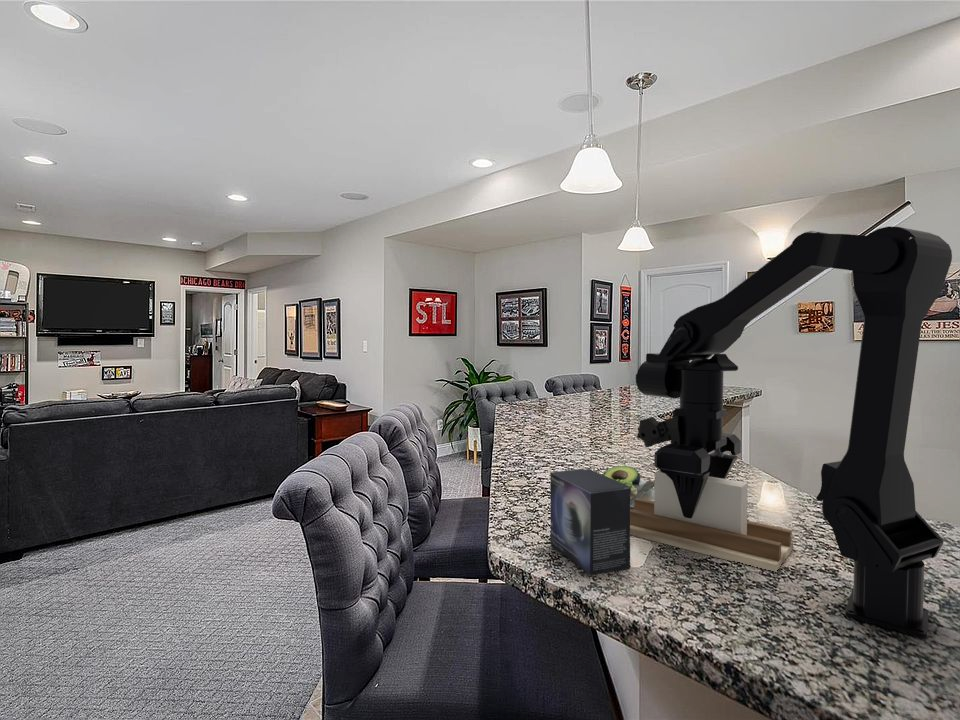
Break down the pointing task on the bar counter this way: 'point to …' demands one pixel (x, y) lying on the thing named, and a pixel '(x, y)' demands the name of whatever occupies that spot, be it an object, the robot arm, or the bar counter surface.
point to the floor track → (714, 538)
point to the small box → (590, 520)
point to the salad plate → (632, 482)
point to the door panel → (706, 503)
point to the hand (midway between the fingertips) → (699, 509)
